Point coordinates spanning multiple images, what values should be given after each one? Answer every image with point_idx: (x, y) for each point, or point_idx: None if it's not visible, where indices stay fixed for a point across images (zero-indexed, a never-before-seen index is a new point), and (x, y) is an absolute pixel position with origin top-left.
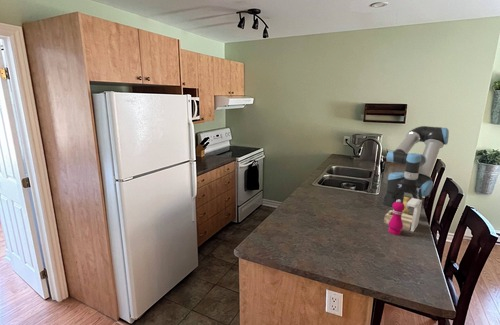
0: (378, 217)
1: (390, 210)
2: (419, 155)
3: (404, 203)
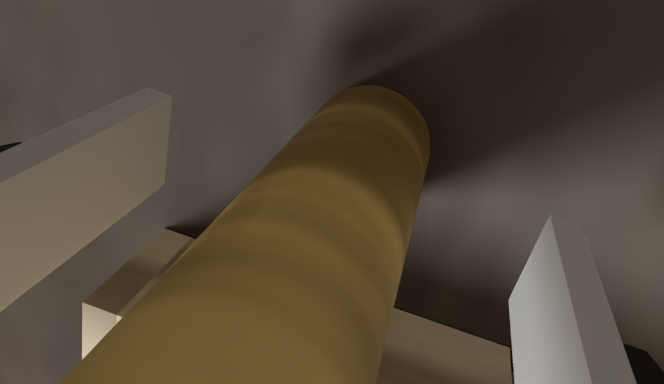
0: (55, 299)
1: (88, 336)
2: None
3: None
